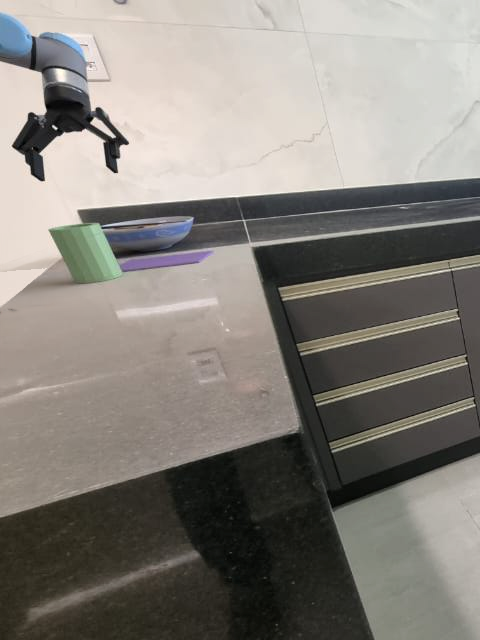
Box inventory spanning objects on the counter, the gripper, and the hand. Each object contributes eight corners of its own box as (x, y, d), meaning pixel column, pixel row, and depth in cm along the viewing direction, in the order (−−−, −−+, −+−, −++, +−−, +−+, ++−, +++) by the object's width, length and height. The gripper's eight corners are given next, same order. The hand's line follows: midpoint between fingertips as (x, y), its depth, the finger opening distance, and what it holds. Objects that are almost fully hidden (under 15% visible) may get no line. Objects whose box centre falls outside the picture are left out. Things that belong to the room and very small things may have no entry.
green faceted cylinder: (68, 285, 118) (40, 231, 113) (85, 277, 125) (59, 225, 120) (114, 279, 121) (89, 226, 116) (128, 271, 128) (105, 221, 123)
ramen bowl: (219, 237, 166) (209, 210, 163) (188, 252, 146) (176, 222, 143) (123, 246, 159) (111, 218, 156) (77, 263, 140) (62, 232, 136)
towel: (109, 273, 127) (108, 271, 127) (131, 261, 139) (131, 259, 138) (199, 262, 133) (198, 261, 133) (213, 251, 145) (213, 250, 145)
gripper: (141, 102, 131) (151, 176, 127) (13, 112, 124) (20, 190, 120) (120, 79, 124) (130, 156, 120) (-17, 88, 117) (-11, 170, 113)
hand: (75, 173), depth 120 cm, fingers open, 13 cm apart
